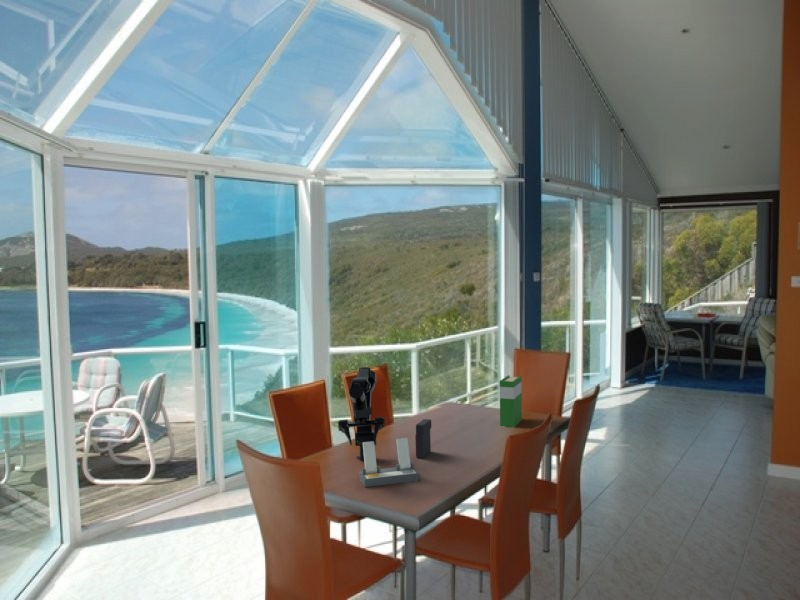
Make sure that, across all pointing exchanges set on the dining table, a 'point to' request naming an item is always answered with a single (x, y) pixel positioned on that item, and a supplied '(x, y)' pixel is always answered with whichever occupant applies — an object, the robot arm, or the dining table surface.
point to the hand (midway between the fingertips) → (362, 444)
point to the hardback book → (510, 401)
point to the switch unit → (388, 476)
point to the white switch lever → (369, 457)
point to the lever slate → (403, 453)
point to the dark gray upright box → (423, 438)
